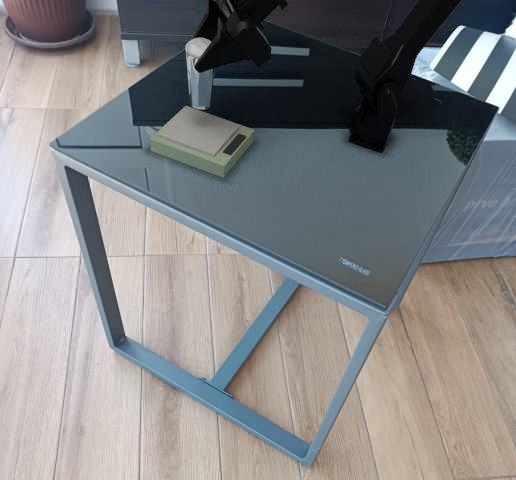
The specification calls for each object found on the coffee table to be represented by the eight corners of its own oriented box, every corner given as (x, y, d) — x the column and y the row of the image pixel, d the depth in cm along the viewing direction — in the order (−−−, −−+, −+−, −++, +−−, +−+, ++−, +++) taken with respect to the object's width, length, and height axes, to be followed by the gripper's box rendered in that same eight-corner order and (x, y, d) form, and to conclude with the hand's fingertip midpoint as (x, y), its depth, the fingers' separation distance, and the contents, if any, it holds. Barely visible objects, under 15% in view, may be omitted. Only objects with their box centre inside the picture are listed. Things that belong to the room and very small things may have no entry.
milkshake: (194, 117, 75) (195, 46, 66) (181, 98, 77) (180, 28, 69) (222, 112, 76) (226, 43, 68) (207, 94, 79) (209, 25, 71)
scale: (253, 141, 84) (255, 126, 82) (223, 178, 77) (224, 162, 75) (185, 117, 86) (185, 101, 84) (150, 151, 79) (149, 134, 77)
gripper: (222, -110, 64) (142, -13, 70) (257, -59, 54) (160, 49, 60) (272, -34, 72) (196, 46, 78) (311, 22, 62) (220, 110, 68)
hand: (193, 60), depth 71 cm, fingers closed on milkshake, 5 cm apart
